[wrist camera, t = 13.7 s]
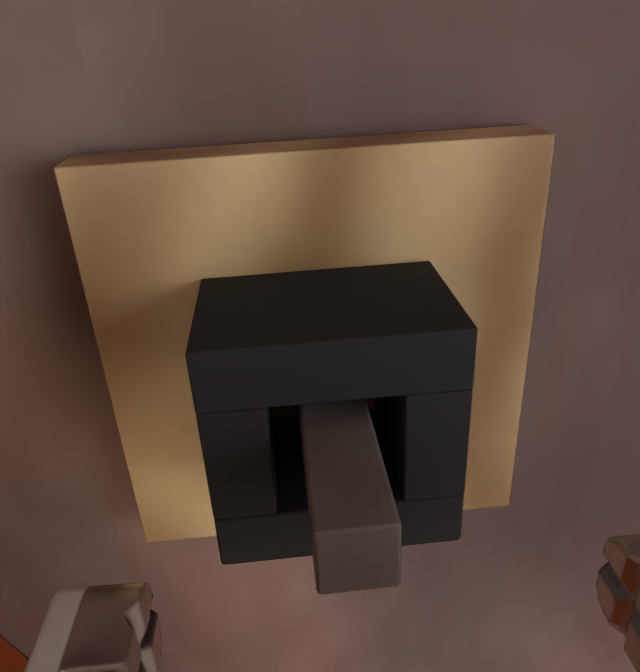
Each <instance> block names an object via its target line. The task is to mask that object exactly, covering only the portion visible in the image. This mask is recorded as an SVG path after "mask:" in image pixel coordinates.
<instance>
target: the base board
mask: <svg viewBox="0 0 640 672" xmlns="http://www.w3.org/2000/svg"><path fill="white" fill-rule="evenodd" d="M554 141H555V134H554V133H551V132H548V131H546V130H543V129H541V128H538V127H536V126H533V125H516V126H501V127H486V128H471V129H456V130H441V131H426V132H411V133H396V134H381V135H366V136H351V137H336V138H321V139H306V140H291V141H276V142H261V143H246V144H231V145H216V146H201V147H186V148H171V149H156V150H141V151H125V152H110V153H95V154H80V155H71V156H69V157H68V158H67V159H65V160H64V161H63V162H61V163H60V164H59V165H57V166H56V167H54V172H55V176H56V180H57V184H58V188H59V192H60V196H61V200H62V204H63V208H64V212H65V217H66V221H67V225H68V229H69V233H70V237H71V241H72V245H73V249H74V253H75V257H76V261H77V265H78V269H79V273H80V277H81V281H82V285H83V289H84V293H85V297H86V301H87V305H88V309H89V313H90V317H91V321H92V325H93V329H94V333H95V337H96V342H97V346H98V350H99V354H100V358H101V362H102V366H103V370H104V374H105V378H106V382H107V386H108V390H109V394H110V398H111V402H112V406H113V410H114V414H115V418H116V422H117V426H118V430H119V434H120V438H121V442H122V446H123V450H124V454H125V458H126V462H127V467H128V471H129V475H130V479H131V483H132V487H133V491H134V495H135V499H136V503H137V507H138V511H139V515H140V519H141V523H142V527H143V531H144V535H145V539H146V542H147V543H152V542H162V541H172V540H181V539H191V538H201V537H210V536H217V534H216V528H215V523H214V517H213V512H212V506H211V500H210V494H209V489H208V483H207V477H206V471H205V466H204V460H203V454H202V448H201V443H200V437H199V431H198V425H197V420H196V413H195V409H194V403H193V397H192V392H191V386H190V380H189V374H188V369H187V363H186V357H185V352H186V348H187V343H188V338H189V334H190V329H191V324H192V320H193V315H194V310H195V306H196V301H197V296H198V292H199V287H200V282H201V279H206V278H219V277H232V276H244V275H257V274H270V273H282V272H295V271H308V270H320V269H333V268H345V267H358V266H371V265H383V264H396V263H409V262H421V261H430V262H431V263H432V265H433V266H434V268H435V269H436V270H437V272H438V273H439V275H440V276H441V277H442V279H443V280H444V282H445V283H446V284H447V286H448V287H449V289H450V290H451V292H452V293H453V294H454V296H455V297H456V299H457V300H458V301H459V303H460V304H461V306H462V307H463V308H464V310H465V311H466V313H467V314H468V315H469V317H470V318H471V320H472V321H473V322H474V324H475V325H476V327H477V328H478V334H477V346H476V359H475V371H474V384H473V388H472V390H473V395H472V407H471V420H470V432H469V445H468V457H467V470H466V482H465V493H464V494H463V495H464V502H463V510H471V509H481V508H490V507H500V506H508V505H509V498H510V490H511V483H512V475H513V467H514V459H515V451H516V443H517V435H518V427H519V419H520V411H521V403H522V395H523V387H524V379H525V371H526V363H527V355H528V347H529V339H530V331H531V323H532V316H533V308H534V300H535V292H536V284H537V276H538V268H539V260H540V252H541V244H542V236H543V228H544V220H545V212H546V204H547V196H548V188H549V180H550V172H551V164H552V156H553V149H554ZM369 409H375V398H368V399H357V400H346V401H335V402H324V403H313V404H302V405H291V406H281V407H273V418H278V417H289V416H298V418H299V427H300V437H301V447H302V456H303V466H304V476H305V485H306V495H307V505H308V514H309V524H310V534H311V543H312V553H313V563H314V572H315V582H316V590H317V592H318V593H319V594H331V593H340V592H349V591H358V590H367V589H376V588H385V587H394V586H398V585H399V584H400V577H401V522H400V518H399V515H398V511H397V508H396V504H395V501H394V497H393V494H392V490H391V487H390V483H389V480H388V476H387V473H386V469H385V466H384V462H383V459H382V455H381V452H380V448H379V445H378V441H377V437H376V434H375V430H374V427H373V423H372V420H371V416H370V413H369Z"/></svg>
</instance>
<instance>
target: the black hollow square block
mask: <svg viewBox="0 0 640 672" xmlns="http://www.w3.org/2000/svg"><path fill="white" fill-rule="evenodd" d="M477 334H478V328H477V327H476V325H475V324H474V322H473V321H472V320H471V318H470V317H469V315H468V314H467V313H466V311H465V310H464V308H463V307H462V306H461V304H460V303H459V301H458V300H457V299H456V297H455V296H454V294H453V293H452V292H451V290H450V289H449V287H448V286H447V284H446V283H445V282H444V280H443V279H442V277H441V276H440V275H439V273H438V272H437V270H436V269H435V268H434V266H433V265H432V263H431V262H430V261H421V262H409V263H396V264H383V265H371V266H358V267H345V268H333V269H320V270H308V271H295V272H282V273H270V274H257V275H244V276H232V277H219V278H206V279H201V282H200V287H199V292H198V296H197V301H196V306H195V310H194V315H193V320H192V324H191V329H190V334H189V338H188V343H187V348H186V352H185V357H186V363H187V369H188V374H189V380H190V386H191V392H192V397H193V403H194V409H195V413H196V420H197V425H198V431H199V437H200V443H201V448H202V454H203V460H204V466H205V471H206V477H207V483H208V489H209V494H210V500H211V506H212V512H213V517H214V523H215V528H216V534H217V540H218V546H219V551H220V557H221V562H222V564H225V565H226V564H236V563H245V562H255V561H264V560H273V559H283V558H292V557H302V556H311V555H313V553H312V543H311V534H310V524H309V514H308V505H307V495H306V485H305V476H304V466H303V456H302V447H301V437H300V427H299V418H298V416H289V417H278V418H273V407H281V406H291V405H302V404H313V403H324V402H335V401H346V400H357V399H368V398H375V409H369V413H370V416H371V420H372V423H373V427H374V430H375V434H376V437H377V441H378V445H379V448H380V452H381V455H382V459H383V462H384V466H385V469H386V473H387V476H388V480H389V483H390V487H391V490H392V494H393V497H394V501H395V504H396V508H397V511H398V515H399V518H400V522H401V546H405V545H414V544H424V543H433V542H443V541H452V540H459V539H460V538H461V527H462V514H463V502H464V495H463V494H464V493H465V482H466V470H467V457H468V445H469V432H470V420H471V407H472V395H473V390H472V388H473V384H474V371H475V359H476V346H477Z"/></svg>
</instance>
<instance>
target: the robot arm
mask: <svg viewBox="0 0 640 672" xmlns="http://www.w3.org/2000/svg"><path fill="white" fill-rule="evenodd" d="M603 554H604V556H605V557H606V559H607V560H608V562H607V563H606V564H605V565H604V566H603V567H602V568H601V569H600V570H599V571H598V577H597V583H596V586H597V593H598V600H599V603H600V605H601V608H602V611H603V613H604V615H605V617H606V619H607V620H608V622H609V624H610V626H612V627H613V628H615V629H616V630H618V631H619V632H620V633H622V634H623V635H625V642H624V648H623V649H624V650H625V652H626V654H627V656H628V657H629V659H630V661H631V663H632V664H633V666H634V668H635V670H636V671H637V672H640V534H633V535H624V536H615V537H610V538H609V539H608V540H607V541H606V542H605V545H604V549H603ZM152 600H153V594H152V591H151V587H150V584H149V583H146V582H144V583H130V584H115V585H101V586H89V587H78V588H65V589H59V590H58V591H57V592H56V594H55V595H54V596H53V598H52V600H51V602H50V605H49V608H48V610H47V613H46V616H45V618H44V621H43V624H42V626H41V629H40V632H39V634H38V637H37V640H36V642H35V645H34V647H33V650H32V653H31V655H30V658H29V661H28V663H27V666H26V669H25V671H24V672H158V669H159V662H160V656H161V629H160V622H159V618H158V614H157V613H156V612H154V611H153V610H151V605H152Z"/></svg>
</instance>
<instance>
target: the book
mask: <svg viewBox="0 0 640 672" xmlns="http://www.w3.org/2000/svg"><path fill="white" fill-rule="evenodd" d="M28 661H29V660H28V659H27V658H26V657H25V656H24V655H22V654H21V653H20V652H19V651H17V650H16V649H15V648H14V647H13V646H11V645H10V644H9V643H8V642H6V641H5V640H4V639H3V638H2V637H0V672H24V671H25V669H26V666H27V663H28Z"/></svg>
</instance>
